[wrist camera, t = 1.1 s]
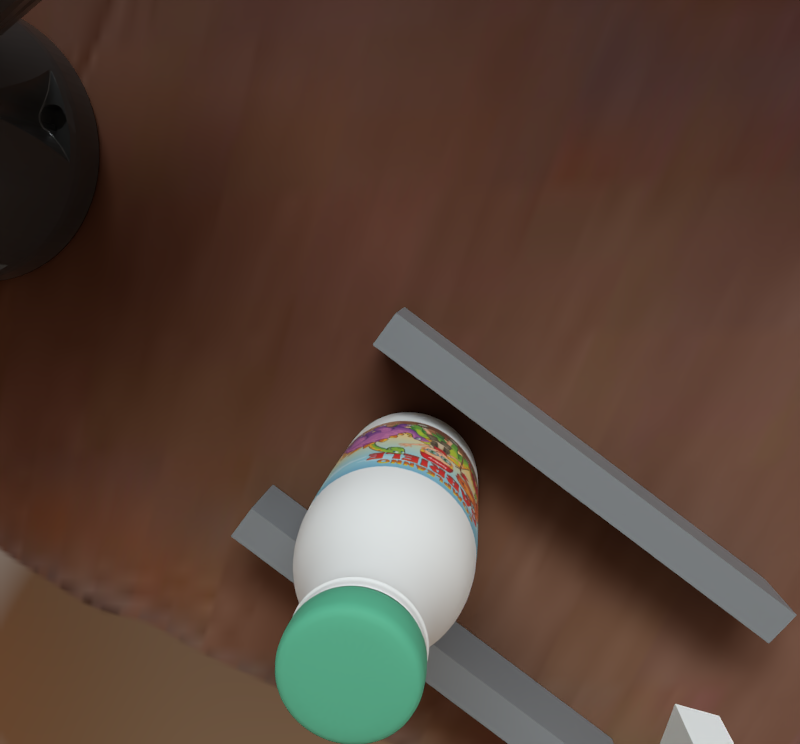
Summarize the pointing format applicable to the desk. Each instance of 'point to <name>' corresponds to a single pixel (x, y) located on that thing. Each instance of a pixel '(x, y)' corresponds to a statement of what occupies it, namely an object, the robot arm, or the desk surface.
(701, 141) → the desk surface
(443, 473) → the milk bottle
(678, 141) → the desk surface
